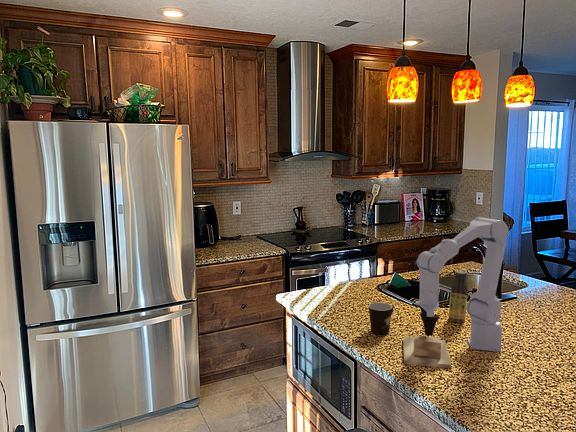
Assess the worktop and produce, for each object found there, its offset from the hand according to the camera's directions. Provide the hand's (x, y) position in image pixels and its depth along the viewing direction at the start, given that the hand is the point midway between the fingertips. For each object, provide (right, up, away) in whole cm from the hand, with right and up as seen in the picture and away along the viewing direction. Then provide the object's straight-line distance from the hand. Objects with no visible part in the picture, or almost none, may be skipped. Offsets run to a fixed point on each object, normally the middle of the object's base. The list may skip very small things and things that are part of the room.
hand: (427, 330), depth 137 cm
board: (+1, -9, +4) cm, 10 cm away
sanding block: (0, -8, 0) cm, 8 cm away
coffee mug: (-9, -7, +22) cm, 25 cm away
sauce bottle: (+22, -5, +32) cm, 39 cm away
